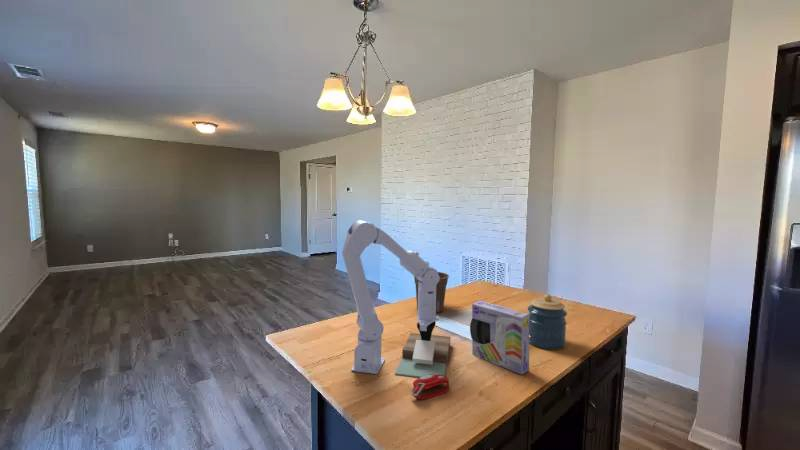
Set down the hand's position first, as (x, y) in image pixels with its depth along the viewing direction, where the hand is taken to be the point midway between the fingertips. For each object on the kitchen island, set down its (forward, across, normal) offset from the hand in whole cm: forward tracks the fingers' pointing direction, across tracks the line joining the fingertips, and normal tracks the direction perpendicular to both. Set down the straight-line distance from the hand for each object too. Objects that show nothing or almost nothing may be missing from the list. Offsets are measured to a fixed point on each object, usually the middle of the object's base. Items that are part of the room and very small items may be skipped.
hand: (425, 344), depth 112 cm
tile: (+1, -4, 0) cm, 4 cm away
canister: (+4, +21, -40) cm, 46 cm away
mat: (+4, -9, 0) cm, 10 cm away
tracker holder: (+5, -19, -3) cm, 20 cm away
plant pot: (+4, +48, +5) cm, 48 cm away
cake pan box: (+4, +2, -22) cm, 23 cm away
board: (+4, +4, 0) cm, 5 cm away
